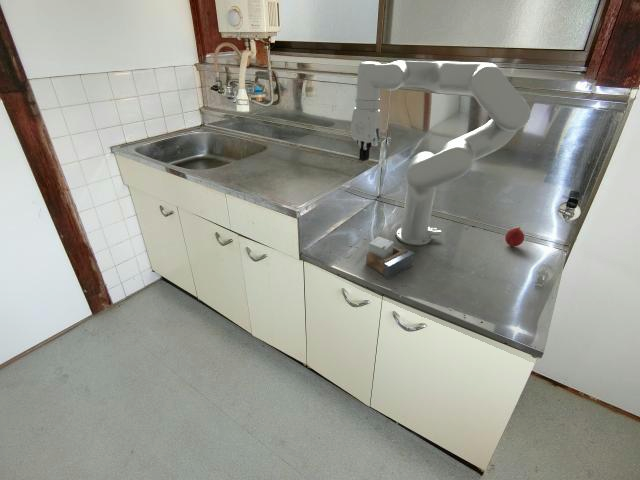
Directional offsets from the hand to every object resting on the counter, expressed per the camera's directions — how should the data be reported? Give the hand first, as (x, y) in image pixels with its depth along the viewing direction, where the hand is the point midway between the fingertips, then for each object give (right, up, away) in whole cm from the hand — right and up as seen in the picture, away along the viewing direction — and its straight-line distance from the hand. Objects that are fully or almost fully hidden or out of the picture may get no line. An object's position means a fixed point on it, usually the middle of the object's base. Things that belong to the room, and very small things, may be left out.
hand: (364, 159), depth 126 cm
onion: (+53, -31, +2) cm, 61 cm away
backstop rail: (+9, -38, -11) cm, 41 cm away
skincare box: (+5, -35, -6) cm, 36 cm away
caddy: (+6, -36, -7) cm, 37 cm away
